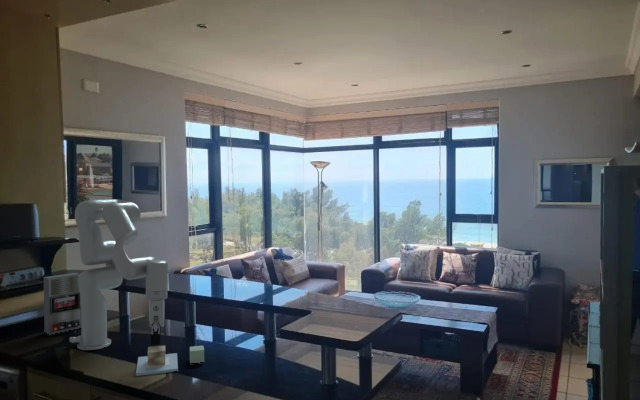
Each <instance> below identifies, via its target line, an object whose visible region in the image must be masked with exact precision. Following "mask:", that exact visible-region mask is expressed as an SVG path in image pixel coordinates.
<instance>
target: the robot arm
mask: <svg viewBox="0 0 640 400" xmlns="http://www.w3.org/2000/svg"><path fill="white" fill-rule="evenodd" d="M139 207H140V206H138V205H137V204H136V203H134V202H132V201H127V200H123V199H117V198H115V199H113V198H111V199H105V198H104V199H88V200H83V201H81V202H79V203H78V204H77V205H76V207H75V210H74V220H75V223H76V224H75V225H76V227H77V230H78V234H79V235H78V238H79V252H80V253H79V255H80V261H81V263H82V264H83V265H85V266H96V265H97V266H99V265H102V264H103V265H104V264H105V266H102V267H96V268H95V267H94V268H91V269H90V268H89V269H86V270H84V271H82V272H81V273H79V274H80V275H79V277H78V286H79V291H80V297H81V330H80V333H81V335H78V336H70V337H69V343H71V344H75V343H76V346H77V349H79V350H80V351H95V350H96V351H97V350H100V349H105V348H107V347H109V346H110V345H111V344H112V339H111V338H108V324H107V323H108V312H107V311H108V310H107V307H108V305H107V300H106V297H105V296H104V295H103V294H102V292H103V291H105V290H106V291H107V290H111V289H115V288H118V287H120V286H121V285H122V284H123V279H125V280H127V281H131V280H136V279H143V278H145V300H147V301H148V320H149V327H150V328H151V333H150V345H151V346H161V331H162V329H161V328H162V327H165V307H166V306H165V300H166V299H168V281H169V279H168V277H169V272H168V271H169V270H168V269H169V264H168V261H167V260H164V259H158V258H156V257H154V256H151V255H150V256H149V255H148V256H143V257H142V256H141V257H134V258H129V256H128V254H127V252H126V249H125V247H126V246H127V245H129V244H131V243H133V242H134V241H135V240H136V239H137V237H138V235H139V233H138V230H137V229H136V227H135V225H134V224H135V223H137V222H139V221H140V219H141V216H142V215H141V210H140V208H139ZM97 221H104V222H105V224H106V226H107V228H108V230H109V231H110V233H111V235H112V237H113V238H114V240H113V239H108V240H104V239H103V231H102V228H101V227H100V225H99V224H98V222H97ZM104 347H105V348H104Z"/></svg>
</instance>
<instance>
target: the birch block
mask: <svg viewBox="0 0 640 400" xmlns="http://www.w3.org/2000/svg"><path fill="white" fill-rule="evenodd" d="M165 354H166V345H153V346H148V347H147V356H148V366H156V365H165Z"/></svg>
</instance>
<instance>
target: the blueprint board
mask: <svg viewBox="0 0 640 400" xmlns="http://www.w3.org/2000/svg"><path fill="white" fill-rule="evenodd" d="M178 362H179V361H178V352H176V353H165V365H156V366H148V355H145V356H137V362H136V370H135V376H136V377H140V376H150V375H159V374H166V373H168V374H169V373H175V372H174V371H177V372H179V366H178V365H179V363H178Z"/></svg>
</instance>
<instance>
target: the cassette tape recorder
mask: <svg viewBox="0 0 640 400" xmlns="http://www.w3.org/2000/svg"><path fill="white" fill-rule="evenodd" d="M80 274H81V273H78V272H70V273H64V274H58V275H57V274H56V275H50V276H44V277H43V318H44V319H43V320H44V321H43V322H44V325H43V326H44V330H43V333H44V332H46V333H47V334H46V333H45V334H46V335H48V334H49V335H48V336H50V335H51V334H53V335H56V334H55V333H58V334H61V333H60V332H62V333H66V332H70V331H69V330H71V331H74V329H75V330H79V328H81V297H80V291H79V286H78V277H79V275H80ZM65 331H66V332H65ZM51 336H52V335H51Z"/></svg>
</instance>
